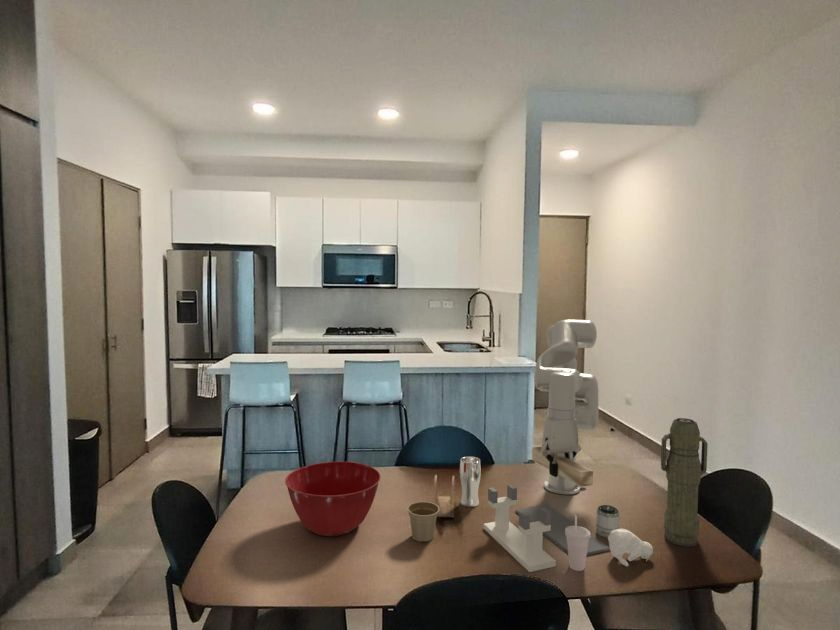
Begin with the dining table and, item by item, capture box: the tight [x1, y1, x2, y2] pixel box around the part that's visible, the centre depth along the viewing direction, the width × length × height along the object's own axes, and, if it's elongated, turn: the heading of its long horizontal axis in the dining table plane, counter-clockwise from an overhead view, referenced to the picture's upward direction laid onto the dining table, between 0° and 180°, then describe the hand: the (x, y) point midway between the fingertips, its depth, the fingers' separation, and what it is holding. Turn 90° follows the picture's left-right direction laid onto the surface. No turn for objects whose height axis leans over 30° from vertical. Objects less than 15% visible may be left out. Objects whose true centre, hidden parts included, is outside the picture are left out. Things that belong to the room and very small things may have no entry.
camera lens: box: [595, 504, 620, 539], centre depth 152 cm, size 6×6×8 cm
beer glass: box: [459, 455, 482, 508], centre depth 172 cm, size 7×7×15 cm
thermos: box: [660, 417, 708, 547], centre depth 148 cm, size 9×12×35 cm
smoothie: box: [565, 514, 591, 572], centre depth 133 cm, size 6×6×14 cm
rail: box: [531, 446, 594, 488], centre depth 152 cm, size 4×24×4 cm, turn 21°
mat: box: [515, 503, 610, 557], centre depth 154 cm, size 12×30×1 cm, turn 21°
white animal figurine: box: [607, 528, 654, 567], centre depth 137 cm, size 6×8×12 cm
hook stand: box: [483, 483, 557, 573], centre depth 144 cm, size 8×25×14 cm, turn 21°
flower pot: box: [406, 501, 440, 543], centre depth 149 cm, size 9×9×9 cm
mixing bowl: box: [284, 461, 382, 537], centre depth 156 cm, size 28×28×15 cm
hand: (560, 474), depth 153 cm, fingers closed on rail, 4 cm apart
